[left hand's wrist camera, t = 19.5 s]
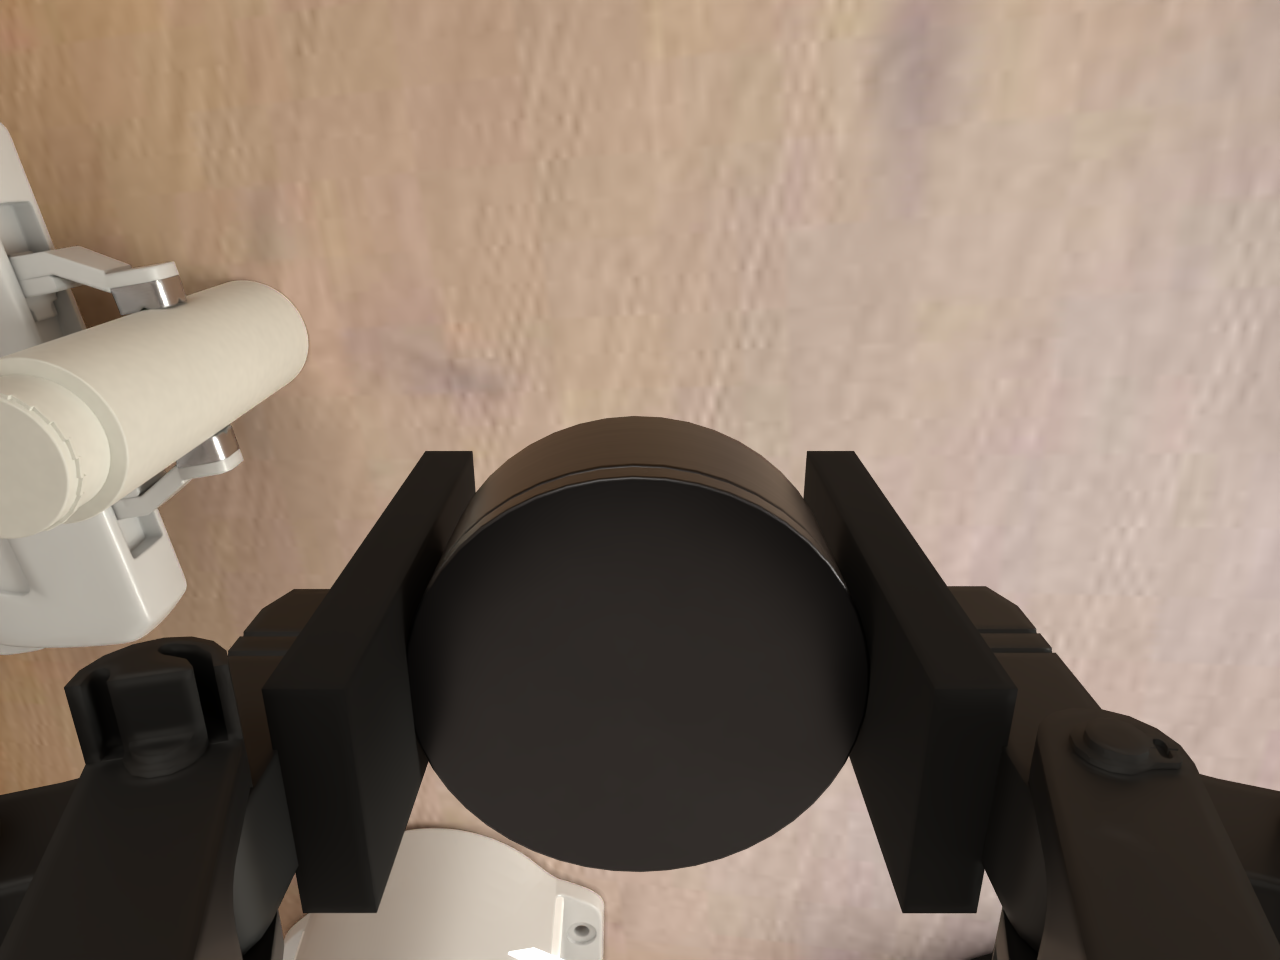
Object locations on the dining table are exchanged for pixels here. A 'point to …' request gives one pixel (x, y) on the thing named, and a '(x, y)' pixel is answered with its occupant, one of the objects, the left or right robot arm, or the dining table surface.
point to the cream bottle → (135, 398)
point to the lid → (637, 649)
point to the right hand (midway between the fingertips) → (203, 367)
